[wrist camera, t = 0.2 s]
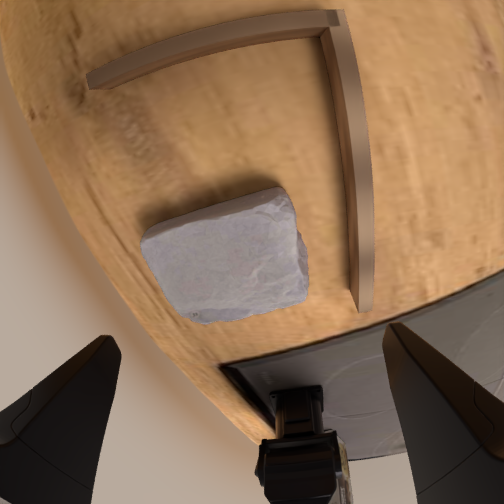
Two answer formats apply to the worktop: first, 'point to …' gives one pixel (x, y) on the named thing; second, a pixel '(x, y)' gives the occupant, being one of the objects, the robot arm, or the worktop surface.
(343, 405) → the worktop surface
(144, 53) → the corner walls
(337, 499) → the coffee box
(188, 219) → the stone block
